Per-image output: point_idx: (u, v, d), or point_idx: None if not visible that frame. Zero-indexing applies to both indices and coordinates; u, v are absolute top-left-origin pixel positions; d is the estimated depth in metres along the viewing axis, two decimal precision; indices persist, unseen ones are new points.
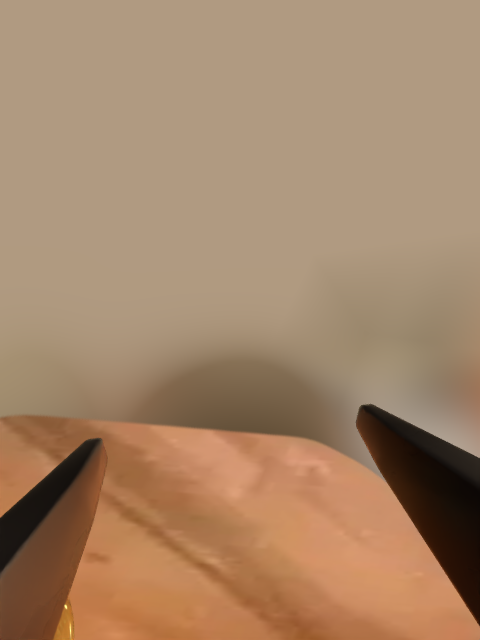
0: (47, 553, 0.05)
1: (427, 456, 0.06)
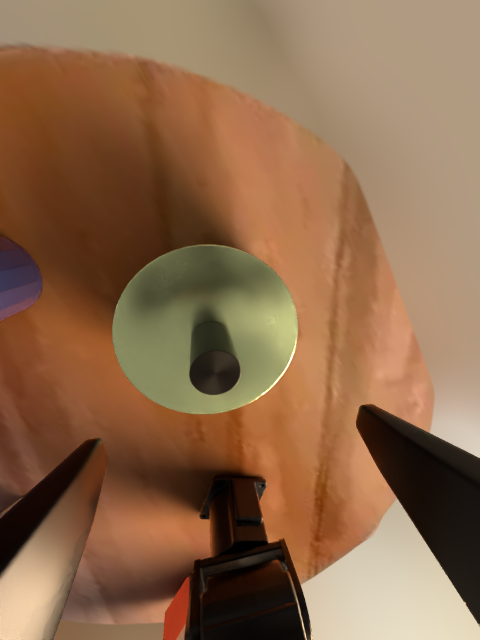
0: (47, 553, 0.05)
1: (427, 456, 0.06)
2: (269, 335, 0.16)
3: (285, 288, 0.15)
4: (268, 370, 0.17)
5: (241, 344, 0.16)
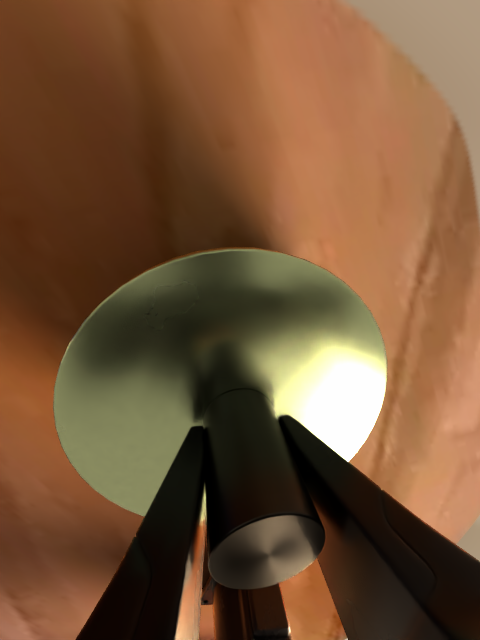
0: (198, 524, 0.05)
1: (317, 475, 0.06)
2: (338, 407, 0.09)
3: (377, 331, 0.08)
4: None
5: None
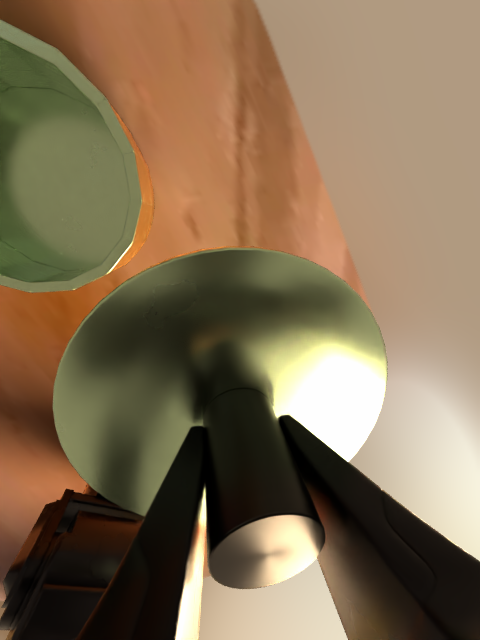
0: (198, 524, 0.05)
1: (317, 475, 0.06)
2: (338, 406, 0.09)
3: (377, 330, 0.08)
4: None
5: None
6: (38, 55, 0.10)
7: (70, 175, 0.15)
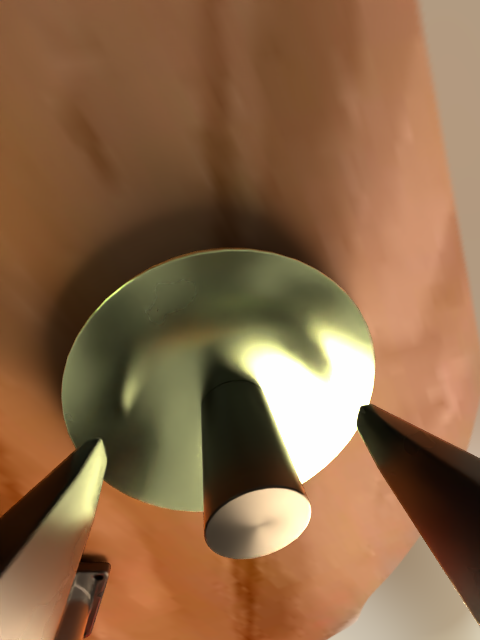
0: (47, 553, 0.05)
1: (427, 456, 0.06)
2: (329, 398, 0.10)
3: (364, 326, 0.09)
4: (319, 448, 0.11)
5: (283, 413, 0.10)
6: None
7: None
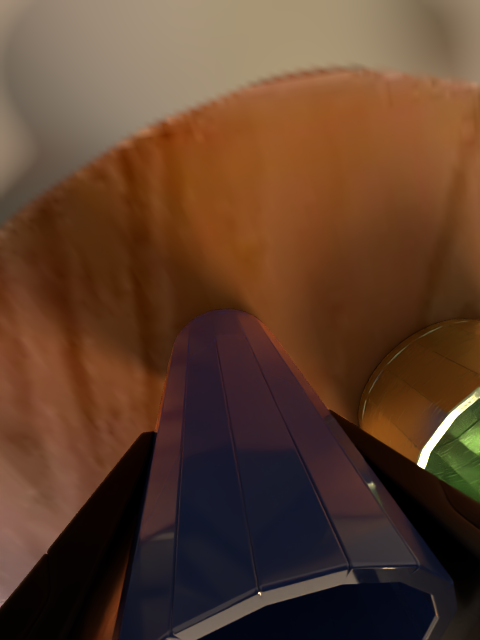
0: (128, 538, 0.05)
1: (371, 466, 0.06)
2: None
3: None
4: None
5: None
6: None
7: None
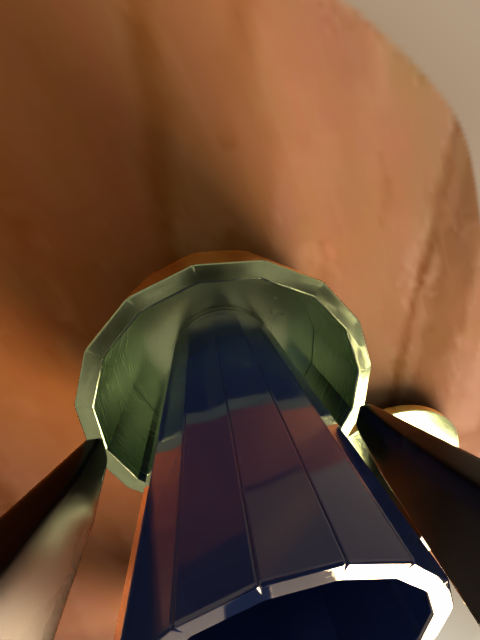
0: (47, 553, 0.05)
1: (427, 456, 0.06)
2: None
3: (456, 434, 0.18)
4: None
5: None
6: (300, 291, 0.08)
7: None
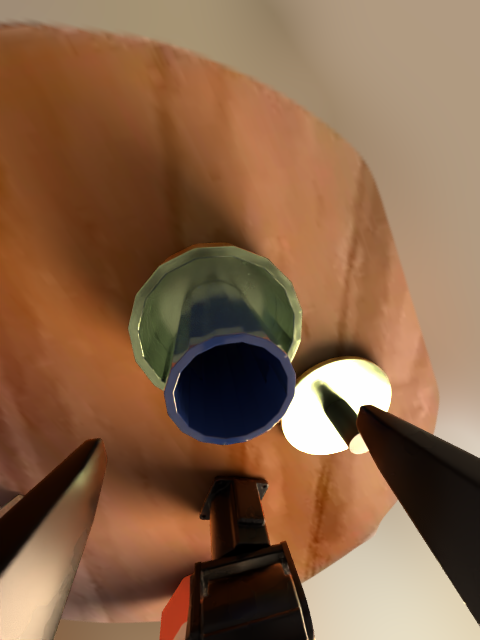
0: (47, 553, 0.05)
1: (427, 456, 0.06)
2: None
3: (387, 380, 0.24)
4: None
5: None
6: (254, 264, 0.14)
7: None
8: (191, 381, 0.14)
